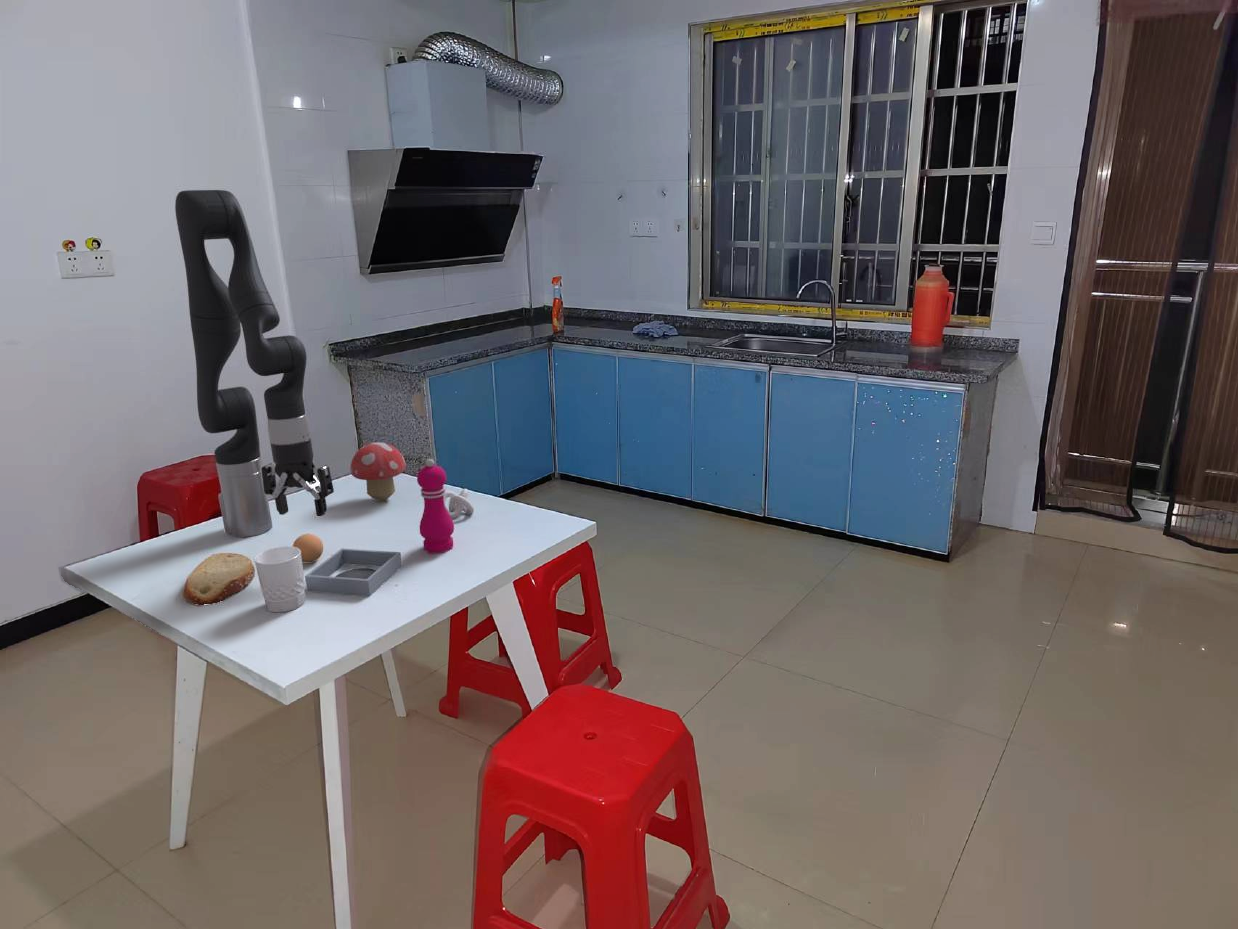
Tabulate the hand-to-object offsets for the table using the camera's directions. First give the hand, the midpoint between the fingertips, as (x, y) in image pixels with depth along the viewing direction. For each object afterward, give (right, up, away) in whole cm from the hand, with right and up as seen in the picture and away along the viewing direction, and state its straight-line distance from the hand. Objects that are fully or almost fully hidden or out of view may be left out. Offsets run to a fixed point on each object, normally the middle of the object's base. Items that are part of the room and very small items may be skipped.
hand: (302, 514), depth 161 cm
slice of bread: (-15, -14, -4) cm, 21 cm away
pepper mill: (+26, -8, +9) cm, 29 cm away
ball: (0, -7, +3) cm, 8 cm away
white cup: (+3, -16, -15) cm, 22 cm away
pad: (+13, -12, -5) cm, 18 cm away
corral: (+13, -12, -5) cm, 18 cm away
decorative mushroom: (+5, +1, +39) cm, 39 cm away
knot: (+26, -2, +27) cm, 38 cm away
